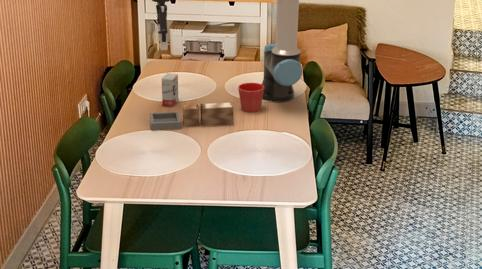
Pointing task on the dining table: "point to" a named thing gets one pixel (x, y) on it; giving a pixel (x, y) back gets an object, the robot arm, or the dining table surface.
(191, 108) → the brown block
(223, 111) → the brown wooden box
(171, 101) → the ink box
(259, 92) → the flower pot
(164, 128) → the slate tray
